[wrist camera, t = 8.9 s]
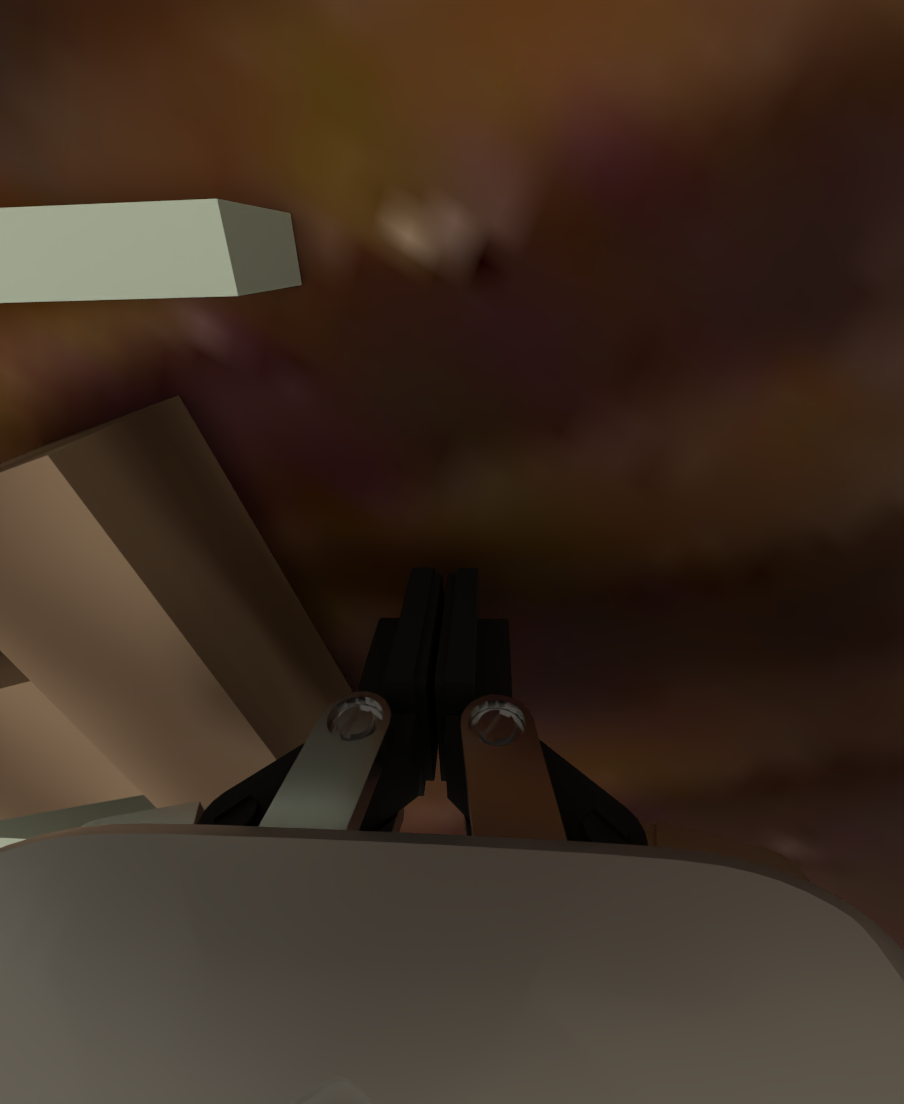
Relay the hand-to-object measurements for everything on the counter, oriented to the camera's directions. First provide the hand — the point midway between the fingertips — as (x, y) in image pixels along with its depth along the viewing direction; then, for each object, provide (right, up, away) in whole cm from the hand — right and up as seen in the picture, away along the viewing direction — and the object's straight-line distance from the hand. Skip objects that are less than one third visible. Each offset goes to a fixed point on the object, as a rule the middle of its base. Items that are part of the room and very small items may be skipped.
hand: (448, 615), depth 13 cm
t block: (-9, -1, +2) cm, 10 cm away
